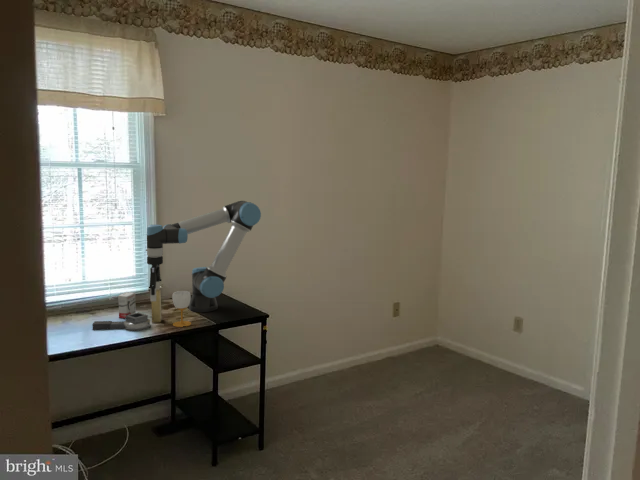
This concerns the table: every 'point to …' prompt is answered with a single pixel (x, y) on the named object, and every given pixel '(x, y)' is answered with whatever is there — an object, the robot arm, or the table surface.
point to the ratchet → (125, 323)
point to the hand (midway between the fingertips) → (155, 297)
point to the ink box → (126, 304)
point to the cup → (181, 305)
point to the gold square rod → (156, 307)
